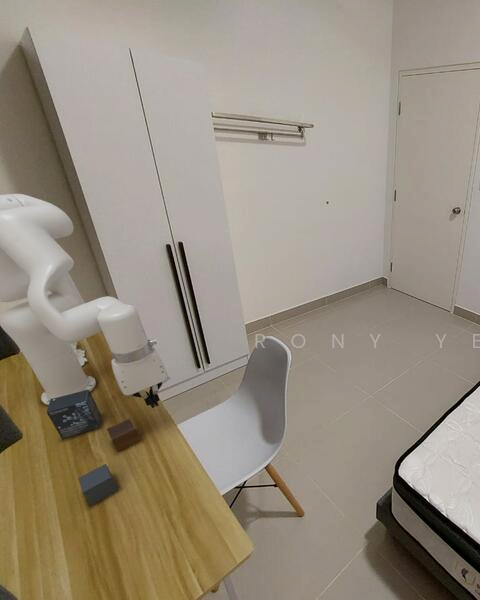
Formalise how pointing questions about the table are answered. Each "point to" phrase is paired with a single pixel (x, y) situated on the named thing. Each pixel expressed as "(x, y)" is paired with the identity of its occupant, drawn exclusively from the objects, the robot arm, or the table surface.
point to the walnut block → (123, 435)
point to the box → (74, 413)
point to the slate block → (97, 484)
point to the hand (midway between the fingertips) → (153, 404)
